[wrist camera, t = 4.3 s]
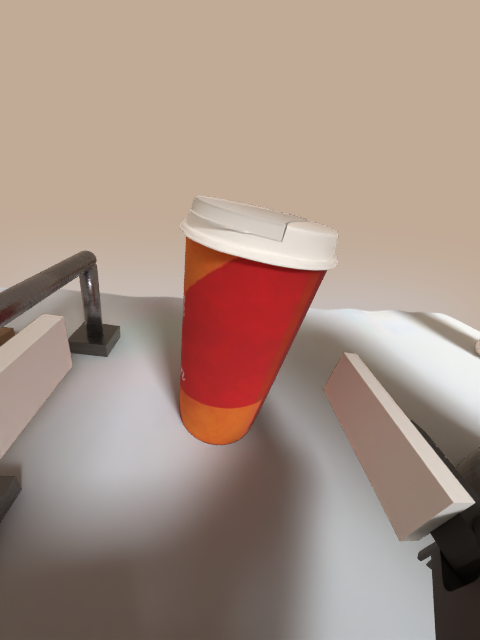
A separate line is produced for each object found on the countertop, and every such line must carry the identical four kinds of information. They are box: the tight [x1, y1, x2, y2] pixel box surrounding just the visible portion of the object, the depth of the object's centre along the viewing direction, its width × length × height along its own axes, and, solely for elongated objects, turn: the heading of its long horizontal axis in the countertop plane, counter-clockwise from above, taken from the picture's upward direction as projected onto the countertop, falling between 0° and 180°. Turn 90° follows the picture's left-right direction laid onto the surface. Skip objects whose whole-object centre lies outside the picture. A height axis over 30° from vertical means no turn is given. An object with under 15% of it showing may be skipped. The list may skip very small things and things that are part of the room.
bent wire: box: [0, 251, 120, 522], centre depth 13 cm, size 3×16×8 cm, turn 3°
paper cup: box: [180, 196, 338, 445], centre depth 14 cm, size 8×8×14 cm
